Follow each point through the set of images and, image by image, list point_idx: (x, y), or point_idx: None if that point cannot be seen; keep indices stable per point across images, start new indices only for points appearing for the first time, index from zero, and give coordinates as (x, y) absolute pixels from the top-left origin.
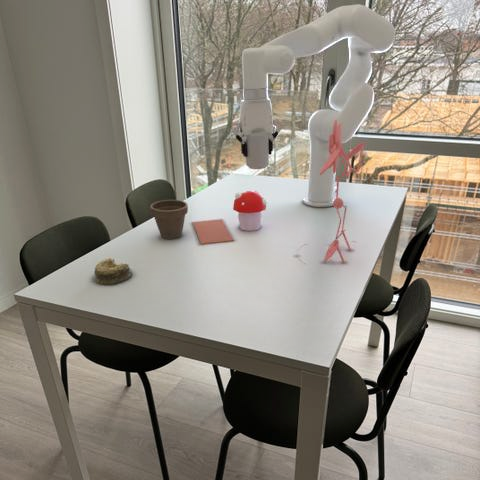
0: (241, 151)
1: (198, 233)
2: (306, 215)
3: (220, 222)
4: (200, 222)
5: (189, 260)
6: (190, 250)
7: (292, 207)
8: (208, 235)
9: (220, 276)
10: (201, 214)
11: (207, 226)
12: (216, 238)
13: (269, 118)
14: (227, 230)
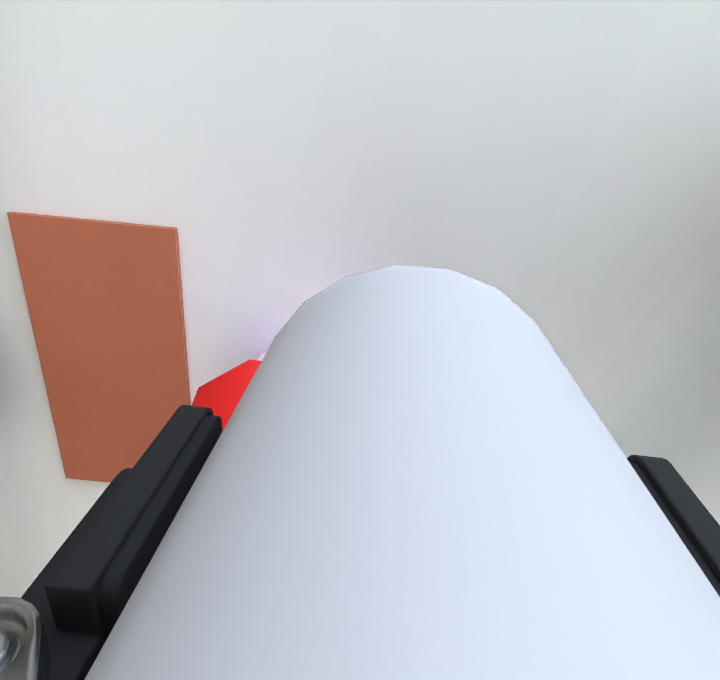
0: (115, 489)
1: (50, 379)
2: (647, 336)
3: (163, 277)
4: (52, 234)
5: (35, 567)
6: (31, 505)
7: (676, 163)
8: (96, 416)
9: None
10: (54, 57)
11: (92, 309)
12: (129, 455)
13: None
14: (185, 393)
